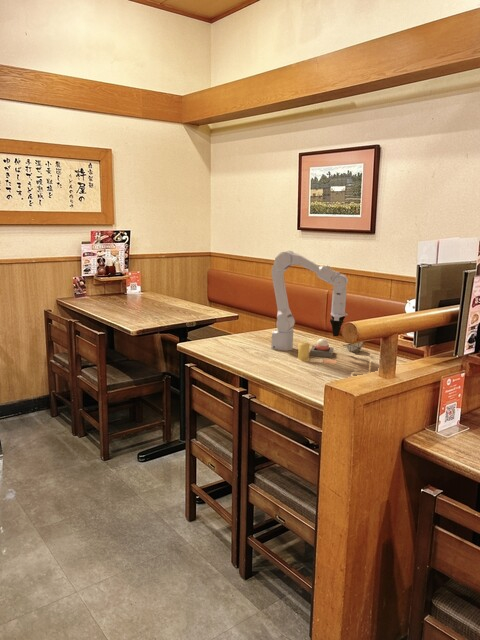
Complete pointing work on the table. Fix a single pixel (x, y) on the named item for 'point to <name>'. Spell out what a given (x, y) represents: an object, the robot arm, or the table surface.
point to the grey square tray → (321, 352)
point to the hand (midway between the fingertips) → (336, 334)
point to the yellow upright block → (303, 351)
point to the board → (321, 361)
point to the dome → (322, 345)
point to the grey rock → (354, 347)
